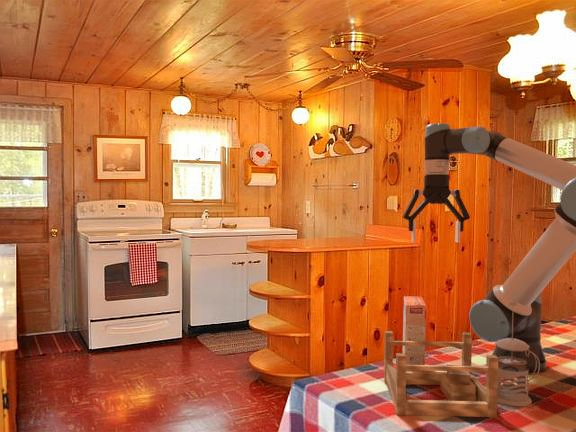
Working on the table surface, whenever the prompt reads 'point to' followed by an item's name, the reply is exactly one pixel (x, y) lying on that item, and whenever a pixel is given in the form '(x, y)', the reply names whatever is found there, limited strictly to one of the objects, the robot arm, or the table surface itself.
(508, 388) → the french press
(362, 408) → the table surface
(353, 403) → the table surface
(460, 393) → the offcut
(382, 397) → the table surface
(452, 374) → the offcut
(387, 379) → the rack
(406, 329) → the cracker box
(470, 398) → the offcut
